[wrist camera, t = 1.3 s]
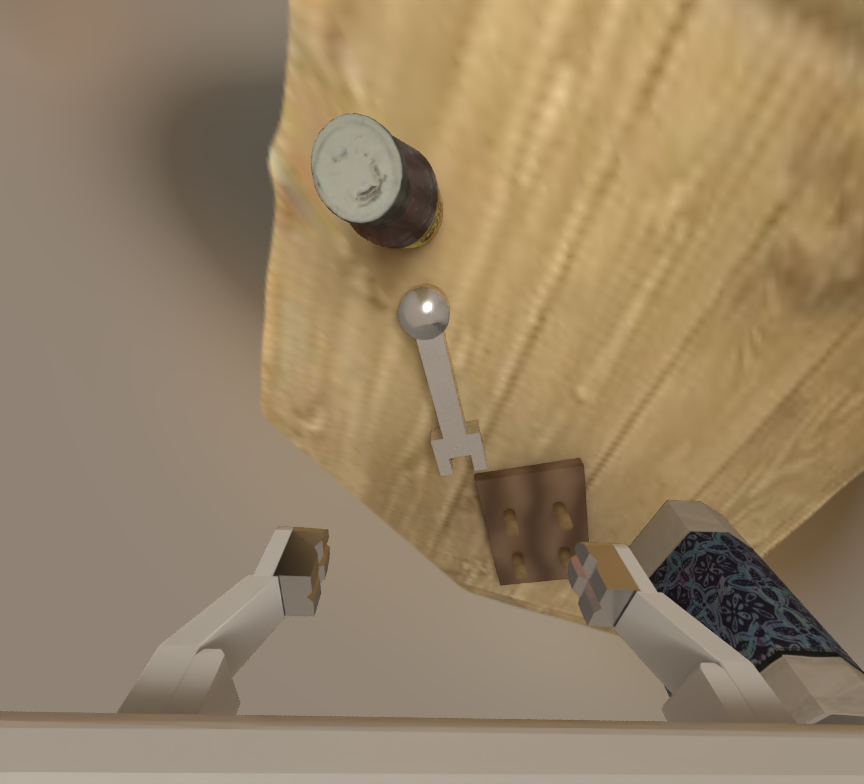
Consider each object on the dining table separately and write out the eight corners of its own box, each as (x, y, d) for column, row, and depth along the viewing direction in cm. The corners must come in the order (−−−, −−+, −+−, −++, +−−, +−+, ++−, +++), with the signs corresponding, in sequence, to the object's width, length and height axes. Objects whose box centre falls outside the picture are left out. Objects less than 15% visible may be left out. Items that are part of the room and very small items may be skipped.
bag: (654, 587, 54) (1056, 1303, 18) (605, 574, 53) (918, 1289, 17) (728, 509, 46) (1722, 1518, 10) (671, 493, 45) (1509, 1508, 9)
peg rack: (579, 458, 43) (594, 484, 39) (587, 567, 53) (599, 599, 48) (474, 474, 46) (476, 500, 41) (499, 576, 55) (503, 607, 50)
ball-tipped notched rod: (392, 291, 35) (387, 296, 33) (447, 277, 34) (446, 281, 32) (441, 461, 45) (440, 476, 42) (485, 454, 44) (487, 468, 41)
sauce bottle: (441, 248, 33) (427, 270, 16) (380, 245, 34) (296, 262, 16) (446, 171, 30) (434, 88, 13) (378, 168, 31) (274, 82, 13)
